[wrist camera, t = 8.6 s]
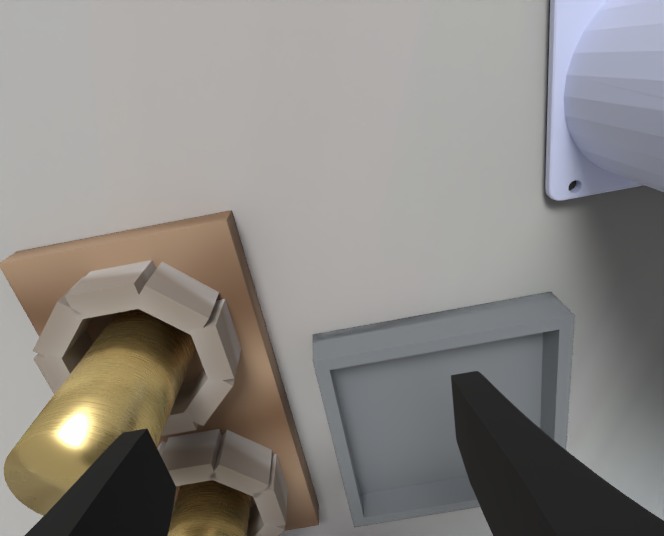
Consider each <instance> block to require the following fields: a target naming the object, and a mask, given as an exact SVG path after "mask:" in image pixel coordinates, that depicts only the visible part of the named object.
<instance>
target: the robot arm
mask: <svg viewBox="0 0 664 536" xmlns="http://www.w3.org/2000/svg"><path fill="white" fill-rule="evenodd" d="M575 180H576V186H575V187H574V188H573V189H572V190H570V191H569V189H568V187H569V184H570V183H571V182H572V181H575ZM643 185H645V186H648V187H651V188H653V189H656V190H659V191H661V192H664V0H550V33H549V70H548V108H547V145H546V182H545V190H546V194H547V195H548V197H550V198H551V199H553V200H556V201H563V200H569V199H574V198H579V197H585V196H590V195H595V194H601V193H606V192H611V191H617V190H622V189H627V188H633V187H638V186H643ZM451 384H452V396H453V408H454V420H455V432H456V441H457V444H458V447H459V450H460V453H461V457H462V460H463V463H464V466H465V469H466V472H467V475H468V478H469V481H470V484H471V486H472V488H473V491H474V493H475V495H476V498H477V500H478V502H479V504H480V507H481V509H482V511H483V514H484V516H485V518H486V520H487V523H488V525H489V527H490V529H491V532H492V534H493V536H664V521H663V520H662V519H660V518H658V517H657V516H655V515H654V514H652V513H651V512H649V511H648V510H646V509H645V508H643V507H642V506H640V505H639V504H638V503H636V502H635V501H633V500H632V499H630V498H629V497H627V496H626V495H625V494H623V493H622V492H620V491H619V490H617V489H616V488H615V487H613V486H612V485H611V484H609V483H608V482H606V481H605V480H604V479H602V478H601V477H600V476H598V475H597V474H596V473H594V472H593V471H592V470H590V469H589V468H588V467H587V466H585V465H584V464H583V463H581V462H580V461H579V460H578V459H576V458H575V457H574V456H572V455H571V454H570V453H569V452H568V451H566V450H565V449H564V448H563V447H561V446H560V445H559V444H558V443H557V442H555V441H554V440H553V439H552V438H551V437H549V436H548V435H547V434H546V433H545V432H544V431H543V430H541V429H540V428H539V427H538V426H537V425H536V424H534V423H533V422H532V421H531V420H530V419H529V418H528V417H526V416H525V415H524V414H523V413H522V412H521V411H520V410H519V409H518V408H517V407H516V406H514V405H513V404H512V403H511V402H510V401H509V400H508V399H507V398H506V397H505V396H504V395H503V394H502V393H501V392H500V391H499V390H498V389H497V388H496V387H495V386H494V385H493V384H492V383H491V382H490V381H489V380H488V379H487V378H486V377H485V376H484V375H483V374H481V373H480V372H478V371H473V372H467V373H461V374H456V375H451ZM175 492H176V486H175V484H174V482H173V479H172V477H171V475H170V473H169V471H168V469H167V467H166V465H165V463H164V461H163V459H162V457H161V455H160V453H159V451H158V449H157V447H156V445H155V443H154V441H153V439H152V437H151V435H150V433H149V431H148V429H147V428H146V429H140V430H135V431H129V432H123V433H122V434H121V435H120V436H119V437H118V438H117V439H116V440H115V441H114V442H113V443H112V444H111V445H110V446H109V447H108V448H107V449H106V450H105V451H104V452H103V453H102V454H101V455H100V456H99V457H98V458H97V460H96V461H95V462H94V463H93V464H92V465H91V466H90V467H89V468H88V469H87V470H86V471H85V473H84V474H83V475H82V476H81V477H80V478H79V479H78V480H77V481H76V482H75V483H74V484H73V486H72V487H71V488H70V489H69V490H68V491H67V492H66V493H65V494H64V495H63V496H62V497H61V498H60V499H59V501H58V502H57V503H56V504H55V505H54V506H53V507H52V508H51V509H50V510H49V511H48V512H47V513H46V514H45V515H44V516H43V518H42V519H41V520H40V521H39V522H38V523H37V524H36V525H35V526H34V527H33V528H32V529H31V530H30V531H29V532H28V533H27V534H26V535H25V536H168V532H169V527H170V522H171V516H172V511H173V505H174V498H175Z"/></svg>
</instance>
